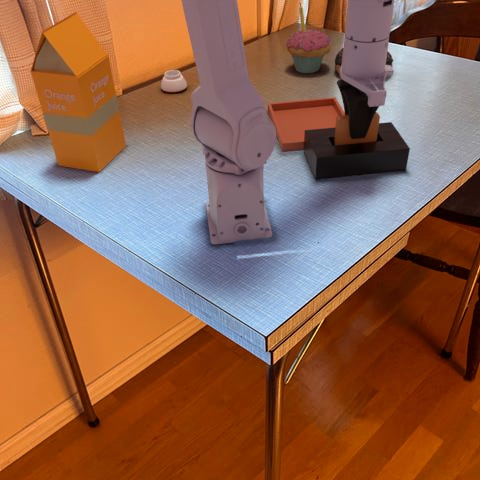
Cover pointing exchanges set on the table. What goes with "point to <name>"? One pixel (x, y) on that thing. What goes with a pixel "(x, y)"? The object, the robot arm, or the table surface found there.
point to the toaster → (355, 154)
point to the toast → (344, 134)
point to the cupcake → (308, 47)
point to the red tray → (302, 119)
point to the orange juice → (77, 96)
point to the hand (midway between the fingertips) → (356, 134)
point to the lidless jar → (173, 81)
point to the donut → (339, 60)
